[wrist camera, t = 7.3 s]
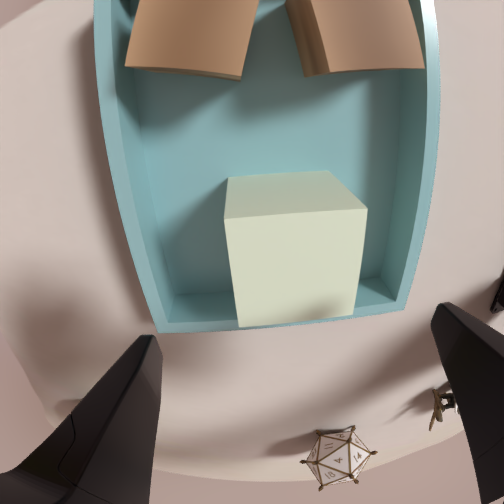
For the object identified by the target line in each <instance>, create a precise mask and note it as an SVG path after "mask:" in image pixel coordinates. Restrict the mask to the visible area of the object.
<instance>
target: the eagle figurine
mask: <svg viewBox="0 0 504 504" xmlns="http://www.w3.org/2000/svg"><path fill="white" fill-rule="evenodd" d="M433 393H434V397H435V403H434V412H433V415H432V419H431V422H430V425H429V431H431V429H432V426H433V424H434V421H435V417H436V420H437V421H439V422H442V421H443V420H442V413H441V410H442V412H444V411H445V409H449V408H455V414H456V411H457V412H458V414H460V413H459V410H458V407H457V404H456V401H455V398H454V395H453V393H445V394H442V395H440V394H439V392H437V390H435V389H433ZM442 398H443V399H447V402H448V404H446V405H443V404H442V403H441V401H442Z"/></svg>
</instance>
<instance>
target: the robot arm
mask: <svg viewBox="0 0 504 504" xmlns="http://www.w3.org/2000/svg"><path fill="white" fill-rule="evenodd" d="M503 310H504V280H503V282H502V285H501V287H500V289H499V292H498V294H497V296H496V298H495V300H494V303H493V305H492V307H491V309H490V311H491V312H492V313H497V312H500V311H503ZM431 330H432V333H433V336H434V339H435V342H436V345H437V349H438V352H439V355H440V359H441V362H442V365H443V368H444V371H445V373H446V376H447V379H448V381H449V384H450V387H451V389H452V392H453V395H454V398H455V401H456V404H457V407H458V410H459V413H460V416H461V419H462V422H463V426H464V429H465V432H466V436H467V439H468V443H469V447H470V451H471V455H472V459H473V464H474V468H475V472H476V477H477V482H478V487H479V493H480V499H481V504H489V503H491V502H493V501H495V500H497V499H499V498H501V497H503V496H504V335H503V334H501V333H499V332H498V331H496V330H495V329H493V328H491V327H490V326H488V325H487V324H485V323H483V322H482V321H480V320H479V319H477V318H475V317H474V316H472V315H470V314H469V313H467V312H465V311H464V310H462V309H460V308H459V307H457V306H455V305H454V304H452V303H450V302H444V303H440V304H439V305H438V306H437V308H436V310H435V313H434V315H433V318H432V320H431ZM162 362H163V357H162V352H161V350H160V347H159V345H158V342H157V340H156V338H155V336H154V335H140V336H139V337H138V338H137V339H136V340H135V341H134V343H133V344H132V345H131V346H130V347H129V348H128V349H127V350H126V351H125V352H124V353H123V355H122V356H121V357H120V358H119V359H118V360H117V361H116V362H115V363H114V364H113V366H112V367H111V368H110V369H109V370H108V371H107V372H106V373H105V374H104V376H103V377H102V378H101V379H100V380H99V381H98V382H97V383H96V384H95V386H94V387H93V388H92V389H91V390H90V391H89V392H88V393H87V395H86V396H85V397H84V398H83V399H82V400H81V401H80V403H79V404H78V405H77V406H76V407H75V408H74V409H73V411H72V412H71V414H69V415H68V416H67V417H66V418H65V420H64V421H63V422H62V423H61V424H60V425H59V426H58V427H57V428H56V430H55V431H54V432H53V433H52V434H51V435H50V436H49V437H48V438H47V439H46V440H45V441H44V442H43V443H42V444H41V445H40V446H39V447H37V448H36V449H35V450H34V451H33V452H32V453H31V454H30V455H29V456H28V457H27V458H26V459H25V460H24V461H22V463H21V464H19V465H18V466H17V467H15V468H14V469H12V470H10V471H8V472H5V473H1V474H0V504H149V496H150V485H151V475H152V466H153V457H154V448H155V441H156V433H157V426H158V419H159V412H160V404H161V382H162ZM503 504H504V502H503Z"/></svg>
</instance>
